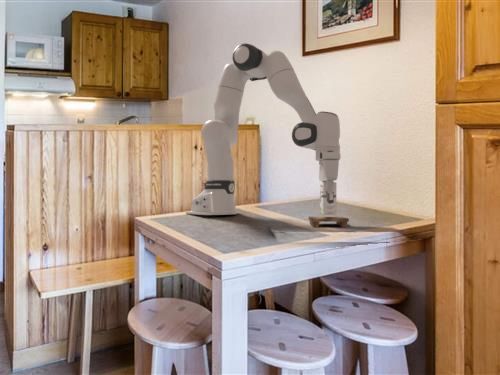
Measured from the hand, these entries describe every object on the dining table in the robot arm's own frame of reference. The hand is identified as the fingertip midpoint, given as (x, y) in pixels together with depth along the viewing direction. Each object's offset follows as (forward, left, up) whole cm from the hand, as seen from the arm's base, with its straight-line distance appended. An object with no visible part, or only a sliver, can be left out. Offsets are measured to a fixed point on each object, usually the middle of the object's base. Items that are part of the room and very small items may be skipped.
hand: (327, 193), depth 164 cm
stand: (0, 0, -12) cm, 12 cm away
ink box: (0, 0, -8) cm, 8 cm away
